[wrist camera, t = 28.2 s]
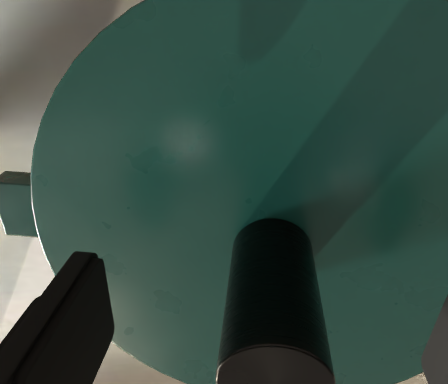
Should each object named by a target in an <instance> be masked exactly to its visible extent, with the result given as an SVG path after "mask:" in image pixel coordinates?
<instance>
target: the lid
mask: <svg viewBox="0 0 448 384" xmlns="http://www.w3.org/2000/svg"><path fill="white" fill-rule="evenodd" d="M30 179H31V202H32V209H33V215H34V220H35V225H36V230H37V234H38V237H39V239H40V242H41V245H42V248H43V251H44V254H45V257H46V259H47V261H48V263H49V265H50V267H51V269H52V271H53V273H54V275H55V276H56V275H57V273H58V272H59V271H60V269H61V268H62V266H63V265H64V264H65V262H66V261H67V260H68V258H69V257H70V256H71V254H72V253H73V252H75V251H80V252H93V253H96V254H97V255H98V258H101V259H103V261H104V265H105V271H106V277H107V283H108V289H109V295H110V301H111V307H112V313H113V319H114V326H115V328H114V335H113V338H112V342H113V343H114V344H115V345H117V346H118V347H119V348H120V349H122V350H123V351H125V352H126V353H128V354H129V355H131V356H132V357H134V358H136V359H137V360H139V361H140V362H142V363H144V364H146V365H147V366H149V367H151V368H153V369H155V370H157V371H159V372H161V373H163V374H165V375H167V376H170V377H172V378H174V379H177V380H179V381H182V382H184V383H187V384H396V383H399V382H401V381H404V380H407V379H409V378H411V377H413V376H416V375H418V374H420V373H422V372H423V369H422V365H421V357H422V354H423V352H424V349H425V347H426V344H427V342H428V340H429V337H430V335H431V333H432V330H433V328H434V325H435V323H436V321H437V318H438V316H439V313H440V311H441V309H442V306H443V304H444V302H445V299H446V297H447V294H448V0H144V1H142V2H140V3H138V4H137V5H135V6H133V7H131V8H130V9H129V10H127V11H126V12H125V13H124V14H122V15H121V16H120V17H119V18H117V19H116V20H115V21H113V22H112V23H111V24H110V25H108V26H107V27H106V28H105V29H103V30H102V31H101V32H100V33H99V34H98V35H97V36H96V37H95V38H94V39H93V40H92V41H91V42H90V43H89V44H88V46H87V47H86V48H85V49H84V50H83V51H82V52H81V53H80V54H79V55H78V56H77V57H76V59H75V60H74V61H73V63H72V64H71V66H70V67H69V69H68V70H67V72H66V73H65V75H64V76H63V78H62V79H61V81H60V82H59V84H58V85H57V87H56V88H55V90H54V92H53V95H52V97H51V99H50V101H49V103H48V106H47V108H46V110H45V112H44V115H43V117H42V119H41V123H40V127H39V130H38V134H37V138H36V141H35V145H34V149H33V158H32V167H31V177H30Z"/></svg>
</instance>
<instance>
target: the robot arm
mask: <svg viewBox="0 0 448 384" xmlns="http://www.w3.org/2000/svg"><path fill="white" fill-rule="evenodd" d="M114 328H115V326H114V319H113V313H112V307H111V301H110V295H109V289H108V283H107V277H106V271H105V265H104V261H103V259H101V258H98V255H97V254H96V253H93V252H80V251H75V252H73V253H72V254H71V256H70V257H69V258H68V260H67V261H66V262H65V264H64V265H63V266H62V268H61V269H60V271H59V272H58V273H57V275H56V276H55V277H54V279H53V280H52V281H51V283H50V284H49V285H48V287H47V288H46V289H45V291H44V292H43V293H42V295H41V296H39V297H38V298H36V299H35V300H34V301H33V302H32V303H31V304H30V305H29V307H28V308H27V309H26V310H25V312H24V313H23V314H22V316H21V317H20V318H19V320H18V321H17V322H16V324H15V325H14V326H13V328H12V329H11V330H10V332H9V333H8V334H7V336H6V337H5V338H4V340H3V341H2V342H1V344H0V384H93V381H94V379H95V377H96V375H97V372H98V370H99V368H100V366H101V363H102V361H103V359H104V357H105V354H106V352H107V350H108V348H109V345H110V343H111V341H112V338H113V335H114ZM421 365H422V369H423V372H424V374H425V377H426V379H427V381H428V384H448V294H447V297H446V299H445V302H444V304H443V306H442V309H441V311H440V313H439V316H438V318H437V321H436V323H435V325H434V328H433V330H432V333H431V335H430V337H429V340H428V342H427V344H426V347H425V349H424V352H423V354H422V357H421Z"/></svg>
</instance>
